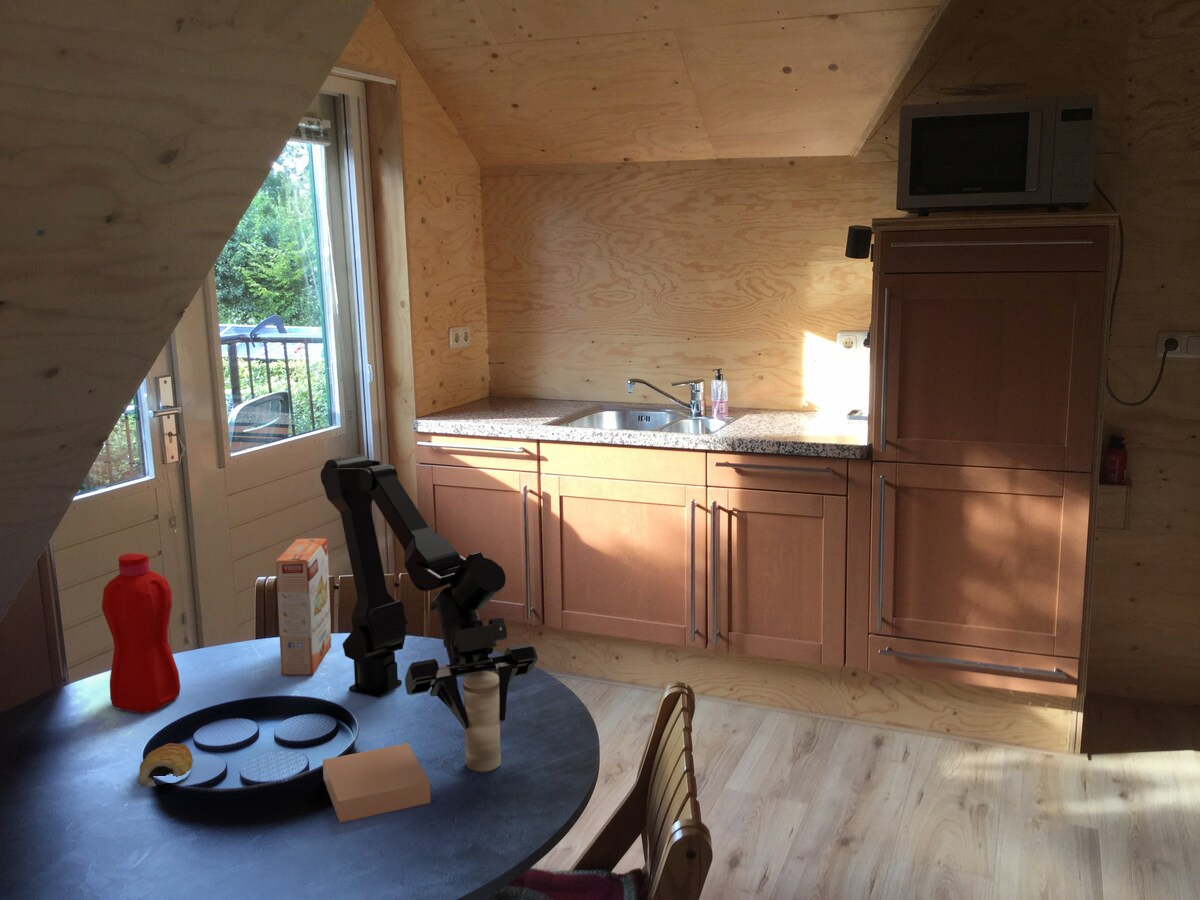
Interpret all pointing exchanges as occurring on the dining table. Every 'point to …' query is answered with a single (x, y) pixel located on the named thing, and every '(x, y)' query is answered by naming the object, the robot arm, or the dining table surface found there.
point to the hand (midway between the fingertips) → (485, 724)
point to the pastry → (165, 763)
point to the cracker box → (303, 606)
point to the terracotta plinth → (375, 782)
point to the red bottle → (140, 637)
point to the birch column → (482, 721)
